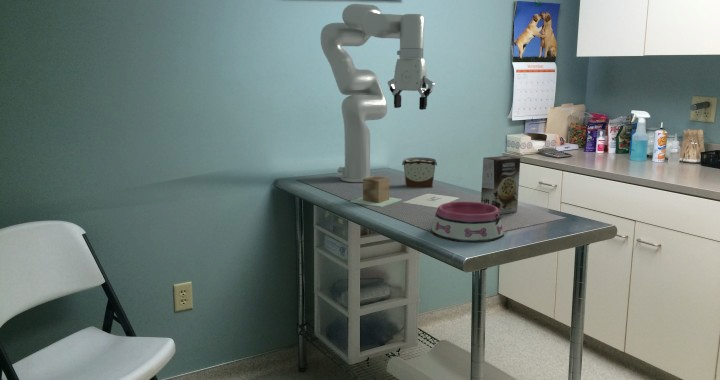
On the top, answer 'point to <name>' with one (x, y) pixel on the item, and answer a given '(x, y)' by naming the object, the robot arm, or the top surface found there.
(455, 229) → the dog bowl
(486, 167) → the coffee box
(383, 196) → the walnut block
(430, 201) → the card
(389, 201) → the mat
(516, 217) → the top surface
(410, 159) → the food container
